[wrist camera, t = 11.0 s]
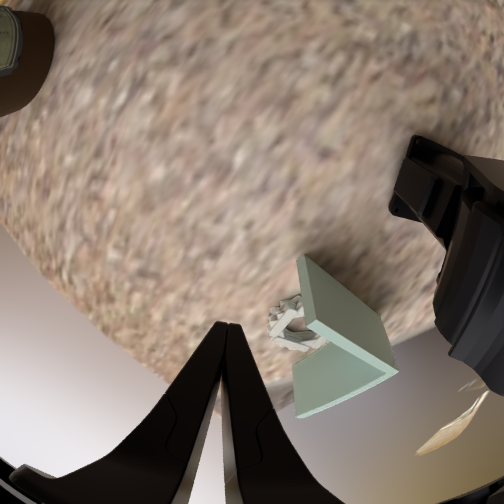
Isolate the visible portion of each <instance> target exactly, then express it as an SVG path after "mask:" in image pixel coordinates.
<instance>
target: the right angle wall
mask: <svg viewBox="0 0 504 504" xmlns="http://www.w3.org/2000/svg"><path fill="white" fill-rule="evenodd" d="M296 262H297V269H298V275H299V282H300V288H301V295H302V297H301V296H299V295H297V296H296V297H294V298H293V299H291V300H281V301H280V307H272V308H271V315H270V316H268V320H270V321H269V323H270V324H269V325H268V326H267V328H268V334H269V335H270V336H271V337H270V338H271V340H272V342H273V343H275V344H278V346H285V347H288V349H289V350H294V349H295V350H298V351H302V352H307V351H308V350H309V348H310V347H312V348H314V349H319V348H320V347H321V346H322V345H323V344H327V340H329V341H331V343H329V344H328V345H326V346H325V347H323V348H321V349H320V350H318V351H316V352H315V353H313V354H311V355H310V356H308V357H306V358H305V359H303V360H301V361H299V362H298V363H296V364H294V365H292V369H293V386H294V404H295V417H297V418H301V419H302V418H304V417H307V416H310V415H312V414H315V413H317V412H320V411H322V410H324V409H327V408H329V407H331V406H334V405H336V404H338V403H340V402H343V401H345V400H347V399H349V398H351V397H353V396H355V395H357V394H359V393H361V392H363V391H365V390H367V389H369V388H371V387H373V386H375V385H377V384H378V383H380V382H382V381H384V380H386V379H387V378H389V377H391V376H393V375H394V374H396V373H398V372H399V369H398V366H397V363H396V360H395V357H394V354H393V351H392V348H391V345H390V342H389V339H388V336H387V333H386V331H385V328H384V325H383V322H382V320H381V317H380V316H379V315H378V314H377V313H375V312H374V311H373V310H372V309H371V308H369V307H368V306H367V305H366V304H365V303H363V302H362V301H361V300H360V299H359V298H357V297H356V296H355V295H354V294H353V293H351V292H350V291H349V290H348V289H346V288H345V287H344V286H343V285H342V284H340V283H339V282H338V281H337V280H335V279H334V278H333V277H332V276H331V275H329V274H328V273H327V272H326V271H324V270H323V269H322V268H321V267H319V266H318V265H317V264H316V263H314V262H313V261H312V260H311V259H309V258H308V257H307V256H306V255H303V256H301V257H300V258H299V259H298V260H297V261H296ZM302 316H304V317H305V324H306V327H307V328H309V329H310V330H312V331H306V332H293V333H292V332H291V331H289V330H288V329H286V328H285V327H286V326H287V325H288V324H289V322H290V321H291V320H292V319H293V318H298V317H302Z"/></svg>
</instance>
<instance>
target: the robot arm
mask: <svg viewBox="0 0 504 504" xmlns="http://www.w3.org/2000/svg"><path fill="white" fill-rule="evenodd" d="M417 139H419V143H418V144H416V141H417ZM395 207H397V209H396V210H393V209H394V208H395ZM389 211H390V213H391V214H392V215H394V216H398V217H402V218H406V219H410V220H413V221H417V222H421V223H423V224H424V225H425V226H426V227H427V228H428V230H429V231H430V232H431V233H432V234H433V235H434V236H435V238H436V239H437V240H438V241H439V242H440V244H441V245H442V246H443V247H444V248H445V250H446V251H447V252H446V255H445V259H444V262H443V265H442V268H441V271H440V273H438V276H437V279H436V281H437V287H436V290H435V293H434V298H433V308H434V313H435V317H436V318H435V321H434V322H435V325H436V326H437V328H438V330H439V331H440V333H441V334H442V335H443V336H444V337H445V339H446V340H447V341H448V342H449V343H450V344H452V347H451V349H450V350H449V352H448V355H449V356H450V357H452V358H455V359H457V360H460V361H462V362H464V363H465V364H467V365H468V366H470V367H471V368H472V369H474V370H475V371H476V373H478V375H479V376H480V377H481V378H482V380H483V381H484V382H485V383H486V385H487V386H488V387H489V389H490V390H491V391H493V392H495V393H497V394H499V395H501V396H504V160H497V159H491V158H483V157H475V156H467V155H464V156H462V155H460V154H458V153H456V152H454V151H452V150H450V149H448V148H446V147H444V146H442V145H440V144H438V143H436V142H433V141H431V140H429V139H427V138H424V137H422V136H420V135H413V136H412V138H411V141H410V144H409V147H408V151H407V154H406V157H405V159H404V160H403V163H402V166H401V169H400V172H399V175H398V178H397V181H396V184H395V187H394V194H393V196H392V199H391V202H390V205H389ZM221 375H222V377H221ZM220 381H221V406H222V438H223V462H224V481H225V496H226V497H225V498H226V504H345V503H344V502H342V501H341V500H339V499H338V498H337V497H336V496H334V495H333V494H332V493H330V492H329V491H328V490H327V489H325V488H324V487H323V486H322V485H321V484H320V483H319V482H318V481H317V480H316V479H315V478H314V477H313V475H312V474H311V473H310V471H309V470H308V468H307V467H306V465H305V464H304V462H303V461H302V459H301V457H300V456H299V454H298V453H297V451H296V450H295V448H294V446H293V445H292V443H291V442H290V440H289V438H288V436H287V434H286V433H285V431H284V429H283V427H282V425H281V422H280V420H279V418H278V416H277V414H276V411H275V409H274V408H273V404H272V402H271V399H270V397H269V395H268V392H267V390H266V387H265V385H264V382H263V380H262V378H261V375H260V373H259V370H258V368H257V365H256V363H255V360H254V358H253V355H252V352H251V350H250V347H249V345H248V342H247V340H246V337H245V334H244V332H243V329H242V327H241V325H240V324H235V323H229V324H228V323H227V322H221V321H216V322H215V323H214V325H213V326H212V327H211V329H210V330H209V332H208V333H207V334H206V336H205V337H204V339H203V340H202V342H201V343H200V344H199V346H198V347H197V349H196V350H195V351H194V353H193V354H192V356H191V357H190V358H189V360H188V361H187V363H186V364H185V365H184V367H183V368H182V370H181V371H180V372H179V374H178V375H177V377H176V378H175V379H174V381H173V382H172V383H171V385H170V386H169V388H168V389H167V391H166V392H165V394H163V396H162V397H161V399H160V400H159V401H158V403H157V404H156V405H155V406H154V408H153V409H152V410H151V412H150V413H149V414H148V415H147V416H146V417H145V418H144V419H143V421H142V422H141V423H140V424H139V425H138V426H137V427H136V428H135V429H134V430H133V431H132V432H131V433H130V434H129V435H128V436H127V437H126V438H125V439H124V440H123V441H122V442H121V443H120V444H119V445H118V446H117V447H116V448H115V449H113V450H112V451H111V452H110V453H109V454H107V455H106V456H104V457H103V458H101V459H99V460H97V461H95V462H93V463H91V464H89V465H87V466H85V467H82V468H80V469H78V470H76V471H74V472H71V473H69V474H67V475H65V476H62V477H59V478H56V477H54V476H51V475H49V474H46V473H44V472H42V471H40V470H38V469H35V468H33V467H31V466H28V465H26V464H23V465H21V466H20V467H19V468H17V469H16V468H15V467H14V466H12V465H11V464H9V463H8V462H6V461H5V460H4V459H3V458H1V457H0V504H188V502H189V499H190V495H191V491H192V487H193V484H194V480H195V476H196V472H197V469H198V465H199V461H200V457H201V454H202V450H203V446H204V442H205V438H206V435H207V431H208V427H209V424H210V419H211V416H212V412H213V408H214V405H215V401H216V397H217V393H218V390H219V386H220ZM437 504H504V476H502V477H500V478H498V479H497V480H494V481H492V482H490V483H488V484H486V485H484V486H481V487H479V488H477V489H474V490H472V491H469V492H467V493H465V494H462V495H459V496H456V497H454V498H451V499H448V500H445V501H442V502H439V503H437Z"/></svg>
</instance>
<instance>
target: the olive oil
mask: <svg viewBox="0 0 504 504" xmlns="http://www.w3.org/2000/svg"><path fill="white" fill-rule="evenodd" d="M11 9H12V8H11V7H6V6H0V117H3V116H5V115H8V114H10V113H13V112H15V111H18V110H20V109H22V108H23V107H25V106H26V105H27V104H29V103H30V102H31V101H32V99H33V98H34V97H35V96H36V94H37V93H38V91H39V90H40V88H41V86H42V84H43V82H44V80H45V78H46V75H47V73H48V70H49V67H50V64H51V60H52V55H53V47H54V35H53V29H52V26H51V23H50V21H49V20H48V19H47V18H46V17H45V16H44V15H42V14H39V13H33V12H24V11H12V10H13V9H12V10H11Z"/></svg>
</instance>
